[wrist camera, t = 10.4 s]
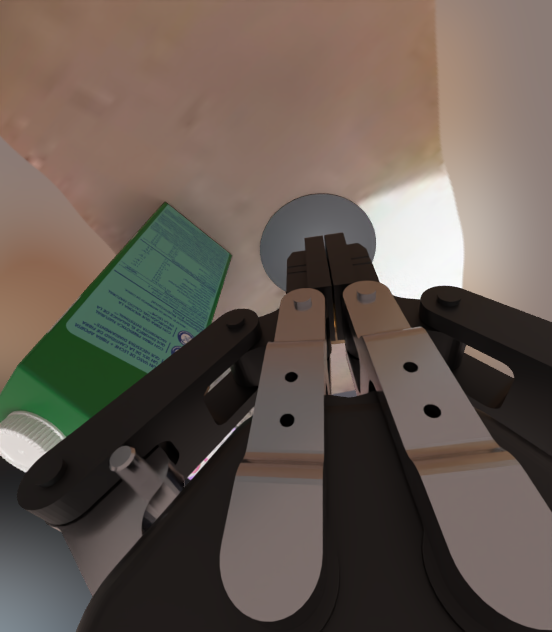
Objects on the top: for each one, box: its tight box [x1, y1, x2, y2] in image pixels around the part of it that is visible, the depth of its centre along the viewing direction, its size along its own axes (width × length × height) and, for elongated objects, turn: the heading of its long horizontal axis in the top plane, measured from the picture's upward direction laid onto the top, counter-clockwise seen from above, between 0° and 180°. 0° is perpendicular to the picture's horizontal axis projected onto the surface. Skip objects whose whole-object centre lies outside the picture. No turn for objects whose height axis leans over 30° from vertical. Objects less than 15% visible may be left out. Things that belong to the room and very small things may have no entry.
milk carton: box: [0, 202, 232, 472], centre depth 27 cm, size 9×9×25 cm
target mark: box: [260, 194, 376, 291], centre depth 35 cm, size 13×13×1 cm
